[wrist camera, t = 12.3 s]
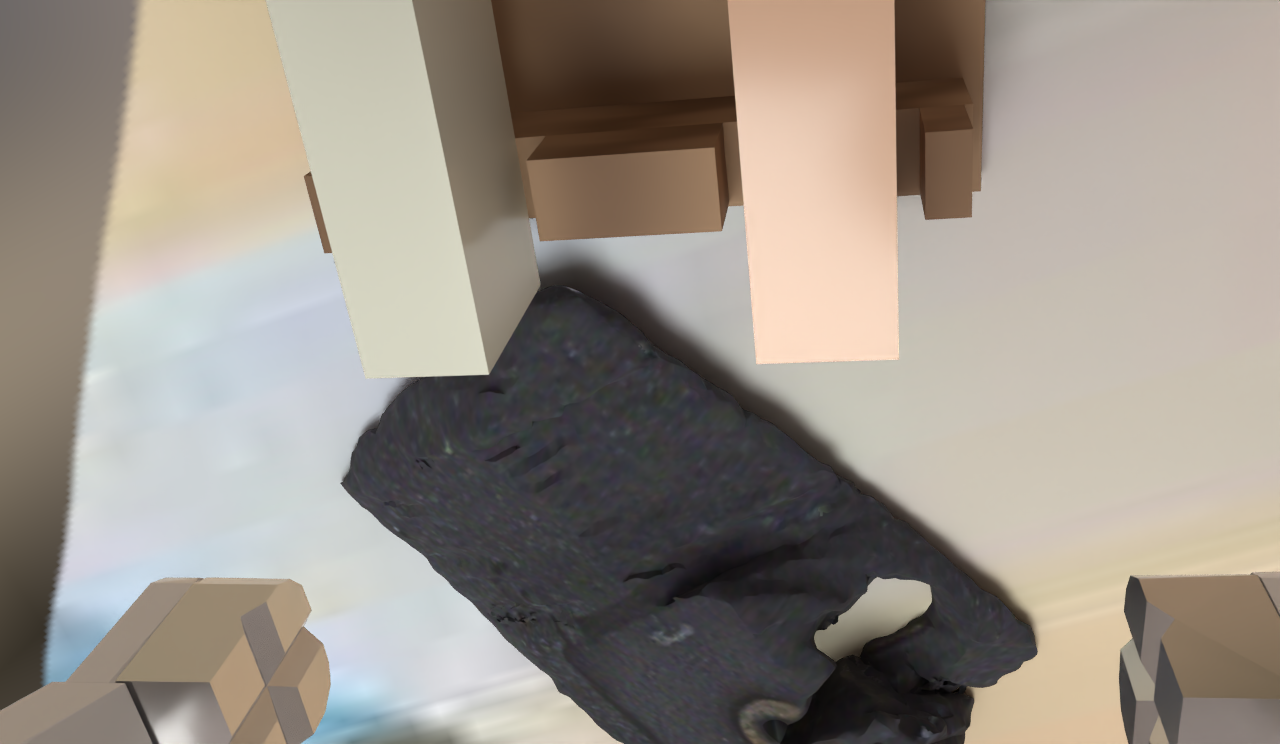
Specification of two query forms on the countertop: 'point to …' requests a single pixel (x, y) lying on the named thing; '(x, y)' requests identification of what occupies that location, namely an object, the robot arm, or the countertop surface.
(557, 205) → the walnut drying rack
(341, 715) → the countertop surface
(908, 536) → the dark slate chunk
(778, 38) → the clay strip
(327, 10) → the cream rectangular bar
